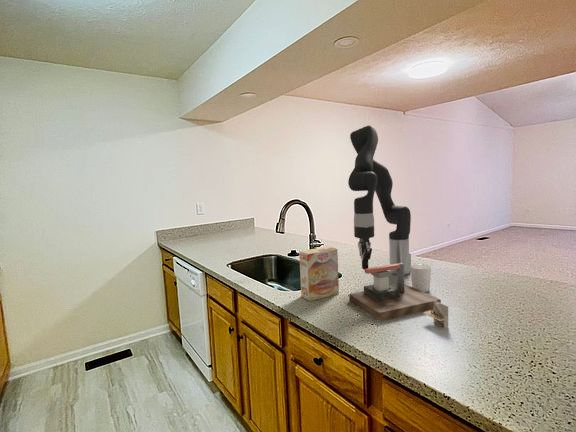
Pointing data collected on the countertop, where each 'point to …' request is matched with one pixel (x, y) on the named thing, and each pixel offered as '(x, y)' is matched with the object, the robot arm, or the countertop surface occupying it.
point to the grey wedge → (439, 314)
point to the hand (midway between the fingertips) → (365, 268)
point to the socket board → (392, 301)
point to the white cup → (421, 277)
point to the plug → (381, 280)
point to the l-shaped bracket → (390, 267)
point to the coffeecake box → (319, 273)
